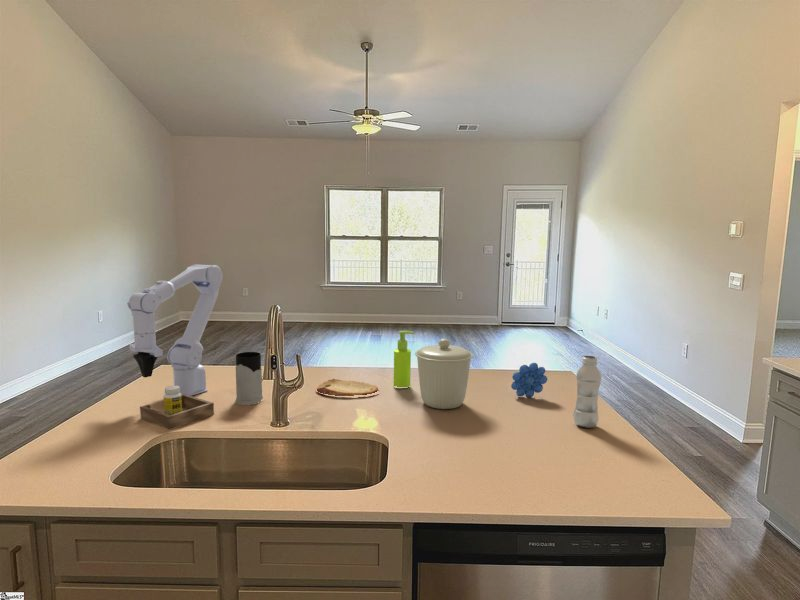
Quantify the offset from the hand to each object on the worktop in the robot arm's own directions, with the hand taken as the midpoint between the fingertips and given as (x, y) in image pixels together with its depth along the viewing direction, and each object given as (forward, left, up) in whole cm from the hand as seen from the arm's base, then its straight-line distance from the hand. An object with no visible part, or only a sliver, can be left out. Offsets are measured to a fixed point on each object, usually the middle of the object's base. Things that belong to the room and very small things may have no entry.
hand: (147, 376), depth 150 cm
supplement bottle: (0, +13, -10) cm, 16 cm away
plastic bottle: (-61, +115, -10) cm, 131 cm away
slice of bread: (-46, +40, -10) cm, 62 cm away
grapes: (-77, +93, -10) cm, 121 cm away
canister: (-54, +73, -10) cm, 91 cm away
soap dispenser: (-62, +53, -10) cm, 82 cm away
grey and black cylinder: (-24, +20, -10) cm, 33 cm away
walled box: (0, +15, -9) cm, 18 cm away
